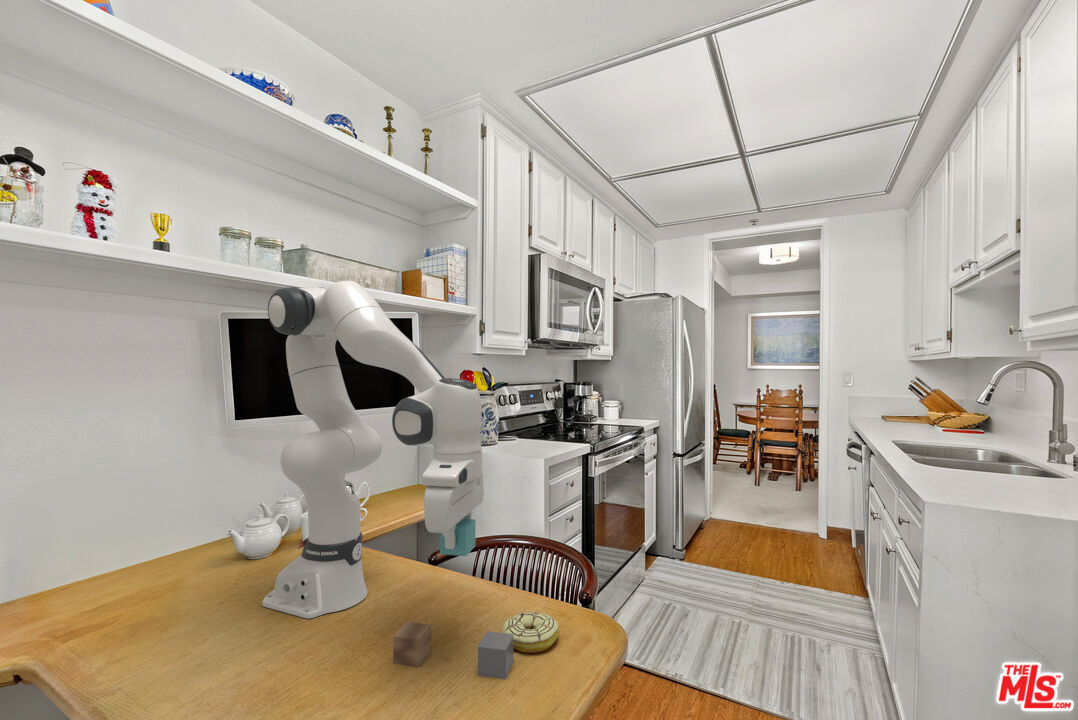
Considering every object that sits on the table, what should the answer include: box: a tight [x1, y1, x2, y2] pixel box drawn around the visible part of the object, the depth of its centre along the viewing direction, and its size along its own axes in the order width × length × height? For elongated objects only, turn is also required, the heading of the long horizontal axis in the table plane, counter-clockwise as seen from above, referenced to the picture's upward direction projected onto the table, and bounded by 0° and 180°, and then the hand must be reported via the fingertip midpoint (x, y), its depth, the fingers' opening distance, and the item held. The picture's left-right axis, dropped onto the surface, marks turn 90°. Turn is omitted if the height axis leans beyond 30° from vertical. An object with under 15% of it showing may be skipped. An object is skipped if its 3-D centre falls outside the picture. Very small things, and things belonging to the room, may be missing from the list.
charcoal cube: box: [477, 630, 514, 680], centre depth 85 cm, size 5×5×5 cm
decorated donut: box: [502, 611, 560, 654], centre depth 94 cm, size 10×11×4 cm
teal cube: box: [439, 518, 476, 557], centre depth 89 cm, size 5×5×5 cm
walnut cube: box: [392, 621, 432, 668], centre depth 89 cm, size 5×5×5 cm
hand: (457, 541), depth 89 cm, fingers closed on teal cube, 5 cm apart
